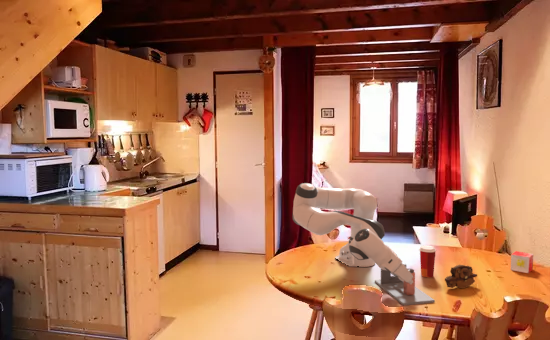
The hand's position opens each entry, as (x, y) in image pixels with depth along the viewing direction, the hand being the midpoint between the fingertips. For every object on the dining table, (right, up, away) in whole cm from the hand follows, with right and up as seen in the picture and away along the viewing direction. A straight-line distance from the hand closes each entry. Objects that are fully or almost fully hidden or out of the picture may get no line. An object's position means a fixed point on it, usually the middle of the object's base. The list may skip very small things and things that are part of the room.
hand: (407, 280), depth 190 cm
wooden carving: (+27, -6, +9) cm, 29 cm away
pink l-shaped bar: (-1, -5, +7) cm, 8 cm away
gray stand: (-1, -6, +5) cm, 8 cm away
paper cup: (+17, -4, +25) cm, 31 cm away
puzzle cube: (+66, -3, +32) cm, 74 cm away
